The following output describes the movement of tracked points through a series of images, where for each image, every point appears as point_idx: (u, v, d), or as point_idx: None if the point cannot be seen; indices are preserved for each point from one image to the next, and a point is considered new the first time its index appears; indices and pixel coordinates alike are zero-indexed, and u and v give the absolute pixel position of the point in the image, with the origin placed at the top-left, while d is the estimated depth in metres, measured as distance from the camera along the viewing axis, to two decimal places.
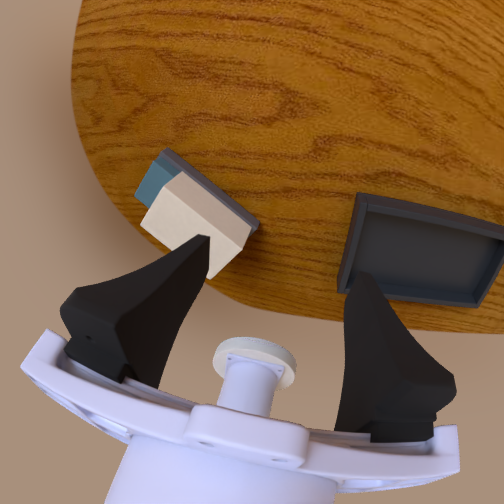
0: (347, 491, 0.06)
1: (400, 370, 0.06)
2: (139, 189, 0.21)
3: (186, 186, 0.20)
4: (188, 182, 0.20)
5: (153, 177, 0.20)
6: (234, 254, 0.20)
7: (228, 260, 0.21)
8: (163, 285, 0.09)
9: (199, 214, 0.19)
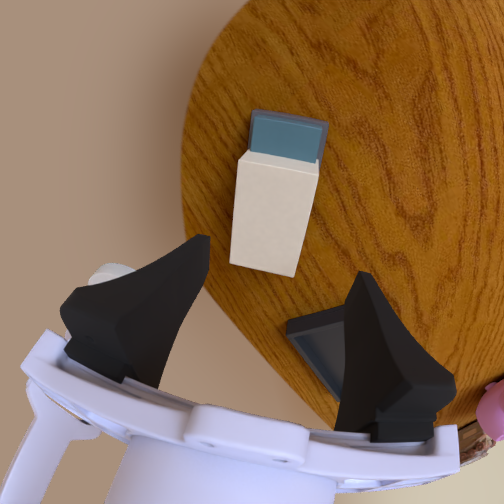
0: (347, 491, 0.06)
1: (400, 370, 0.06)
2: (270, 122, 0.15)
3: None
4: None
5: (300, 136, 0.15)
6: (282, 273, 0.18)
7: (270, 271, 0.18)
8: (163, 285, 0.09)
9: (306, 226, 0.16)
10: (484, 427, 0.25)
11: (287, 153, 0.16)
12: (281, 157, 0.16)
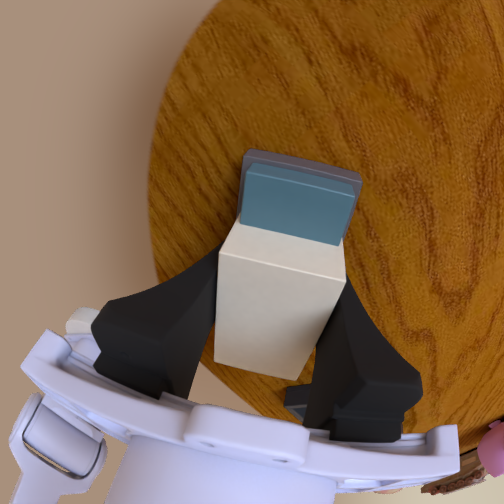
0: (347, 491, 0.06)
1: (356, 365, 0.06)
2: (271, 181, 0.10)
3: None
4: None
5: (318, 206, 0.10)
6: (281, 377, 0.13)
7: (266, 374, 0.13)
8: (199, 295, 0.09)
9: None
10: (484, 465, 0.20)
11: (297, 230, 0.10)
12: (288, 235, 0.11)
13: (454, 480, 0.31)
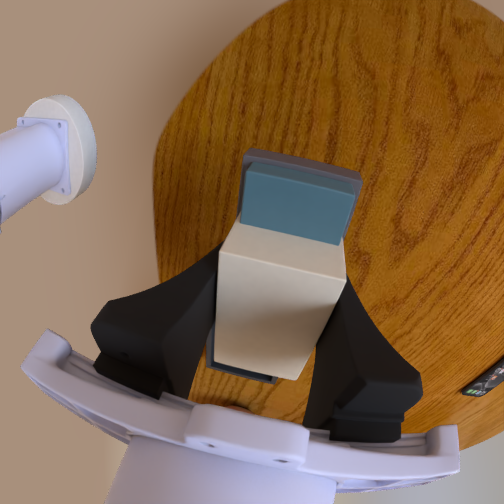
0: (347, 491, 0.06)
1: (356, 365, 0.06)
2: (271, 180, 0.10)
3: None
4: None
5: (319, 205, 0.10)
6: (282, 376, 0.13)
7: (266, 373, 0.13)
8: (199, 295, 0.09)
9: None
10: None
11: (297, 229, 0.10)
12: (288, 234, 0.11)
13: None
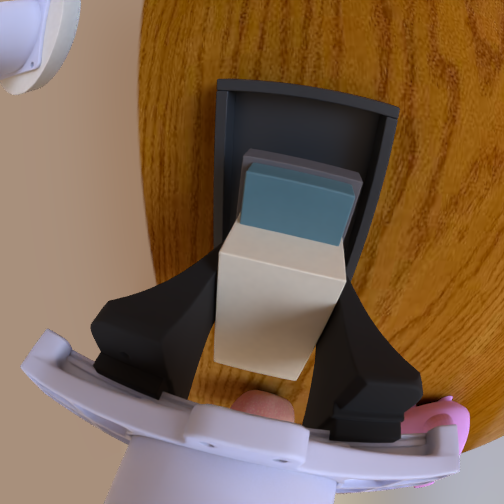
0: (348, 491, 0.06)
1: (356, 365, 0.06)
2: (271, 181, 0.10)
3: None
4: None
5: (319, 206, 0.10)
6: (281, 377, 0.13)
7: (266, 374, 0.13)
8: (199, 295, 0.09)
9: None
10: None
11: (297, 230, 0.10)
12: (288, 235, 0.11)
13: None
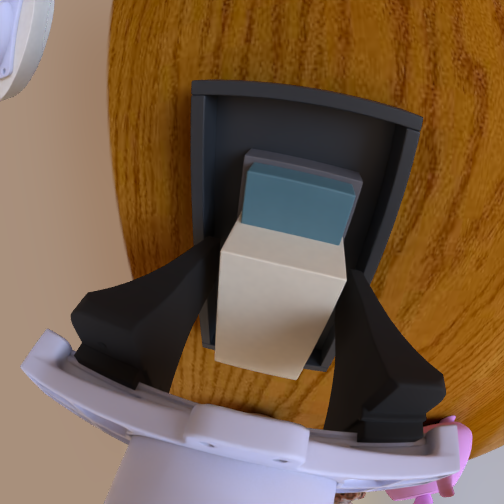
0: (347, 491, 0.06)
1: (386, 369, 0.06)
2: (272, 180, 0.10)
3: None
4: None
5: (319, 205, 0.10)
6: (282, 376, 0.13)
7: (267, 373, 0.13)
8: (176, 289, 0.09)
9: (319, 336, 0.11)
10: None
11: (298, 229, 0.11)
12: (289, 234, 0.11)
13: None
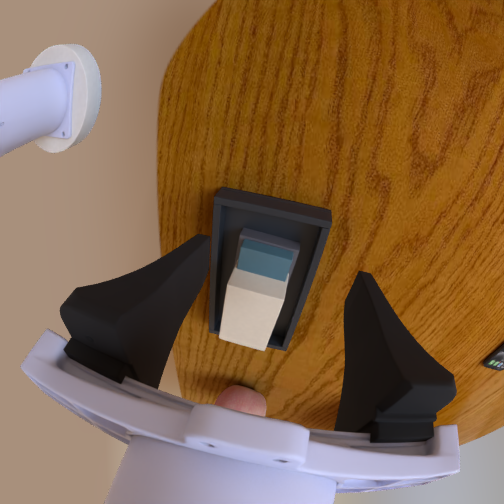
0: (347, 491, 0.06)
1: (400, 370, 0.06)
2: (252, 252, 0.21)
3: None
4: None
5: (274, 264, 0.21)
6: (256, 348, 0.25)
7: (248, 346, 0.25)
8: (163, 285, 0.09)
9: (274, 325, 0.22)
10: None
11: (264, 273, 0.22)
12: (260, 275, 0.22)
13: None
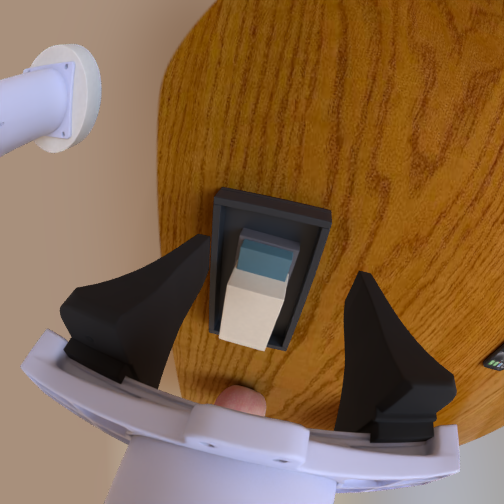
0: (347, 491, 0.06)
1: (400, 370, 0.06)
2: (252, 252, 0.21)
3: None
4: None
5: (274, 264, 0.21)
6: (256, 348, 0.25)
7: (247, 346, 0.25)
8: (163, 285, 0.09)
9: None
10: None
11: (264, 273, 0.22)
12: (260, 275, 0.22)
13: None
